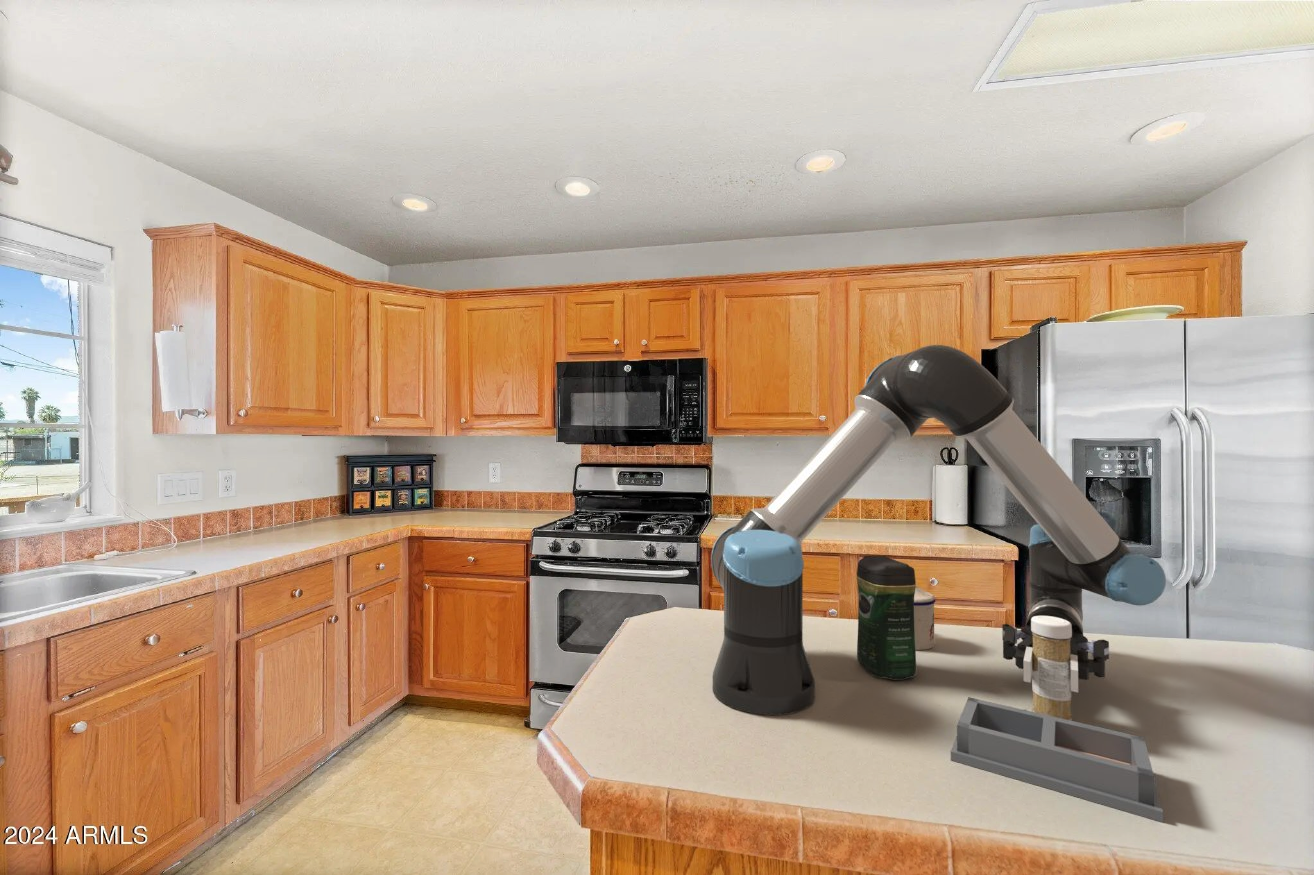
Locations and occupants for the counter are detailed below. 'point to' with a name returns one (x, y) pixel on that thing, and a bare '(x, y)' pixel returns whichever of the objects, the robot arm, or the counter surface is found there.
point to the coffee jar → (886, 617)
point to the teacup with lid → (923, 619)
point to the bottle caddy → (1059, 756)
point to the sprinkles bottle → (1051, 666)
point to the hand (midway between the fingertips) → (1050, 675)
